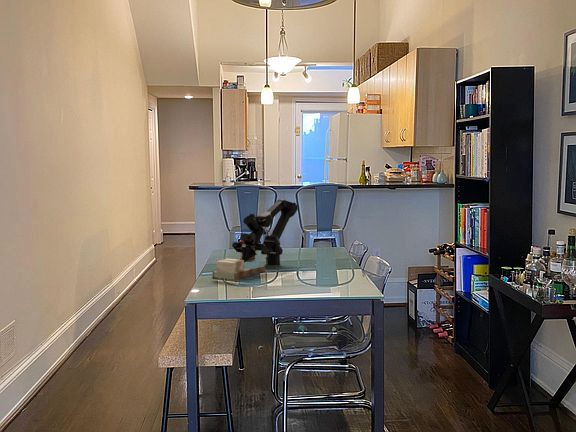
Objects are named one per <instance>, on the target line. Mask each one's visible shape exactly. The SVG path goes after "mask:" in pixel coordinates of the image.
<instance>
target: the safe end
mask: <svg viewBox="0 0 576 432" xmlns="http://www.w3.org/2000/svg"><path fill="white" fill-rule="evenodd" d="M213 278H214V279H213V280H219V281H227V282H232V283H233V282H234V281H235V280H234V274H233V273H224V272H214V277H213Z"/></svg>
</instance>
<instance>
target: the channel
mask: <svg viewBox="0 0 576 432" xmlns="http://www.w3.org/2000/svg"><path fill="white" fill-rule="evenodd" d="M214 272H217V270H213V271H212V280H215V279H214V278H215V277H214ZM263 272H266V266H265V265H261V266H257V267H254V268H244V271H243V272H240V273H236V274H234V282H235V283H237V282H238V280H240V279H244V278H246V277H250V276H253V275H256V274H260V273H263Z"/></svg>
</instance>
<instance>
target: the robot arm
mask: <svg viewBox="0 0 576 432" xmlns="http://www.w3.org/2000/svg"><path fill="white" fill-rule="evenodd" d="M297 211H298V204H297V203H296V202H295V201H293V202H291V201H289V200H286V199H276V201H275V202H274V203H273V204H272V205H271V206H270V207H269V208H268V209H267V210H266V211H265V212H262V213H260V214H258V215H257V216H255V214H254V213H249V215H247V216H246V217H244V218H243V220H242V222H243V224H244V225H245V227H246V228H247V229H248V231H250V233H243V232H242V233H240V236H239V240H240V241H234V242H232V244H231V247H232V248H233V249H234V250H235V251H236V253H243V254H242V258H241V260H244V264H245V263H246V262H247V261H249V260H251V259H250V258H252V257H253V256H255V257H256V256H257V253H258V251H260V254H261V255H263V256H264V255H265V256H266V257H265V264H266V265H267V266H276V265H277V266H281V261H280V260H281V255H282V254H283V248H282V247H281V240H280V238H281V237H282V235H283V233H284V231H285V228H286V226H287V224H288V222H289V221H290V219H291V218H292V217H293V216H295V214H296V213H297ZM279 213H280V216H279V218H278V220H277V223H276V224H275V226H274V228H273V230H272V233H271V234H270V235H267V231H266V229H265V228H268V227H270V226H271V225H272V224H273V219H274V218H275V217H276V216H277V214H279ZM263 235H266V236H265V237H264V239H263V241H261V239H262V237H263ZM241 240H242V241H244V242H243V243H244V244H241Z"/></svg>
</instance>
